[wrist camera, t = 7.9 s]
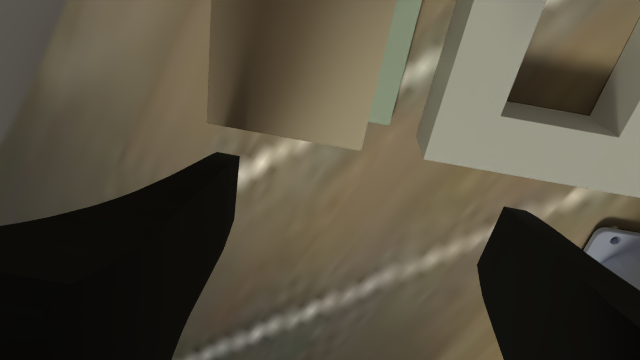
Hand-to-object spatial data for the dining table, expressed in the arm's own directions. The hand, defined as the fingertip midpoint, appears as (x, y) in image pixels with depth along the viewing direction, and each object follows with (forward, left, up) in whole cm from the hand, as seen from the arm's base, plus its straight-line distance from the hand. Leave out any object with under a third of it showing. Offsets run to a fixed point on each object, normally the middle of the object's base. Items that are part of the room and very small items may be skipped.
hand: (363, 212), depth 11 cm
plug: (+2, -4, -9) cm, 10 cm away
